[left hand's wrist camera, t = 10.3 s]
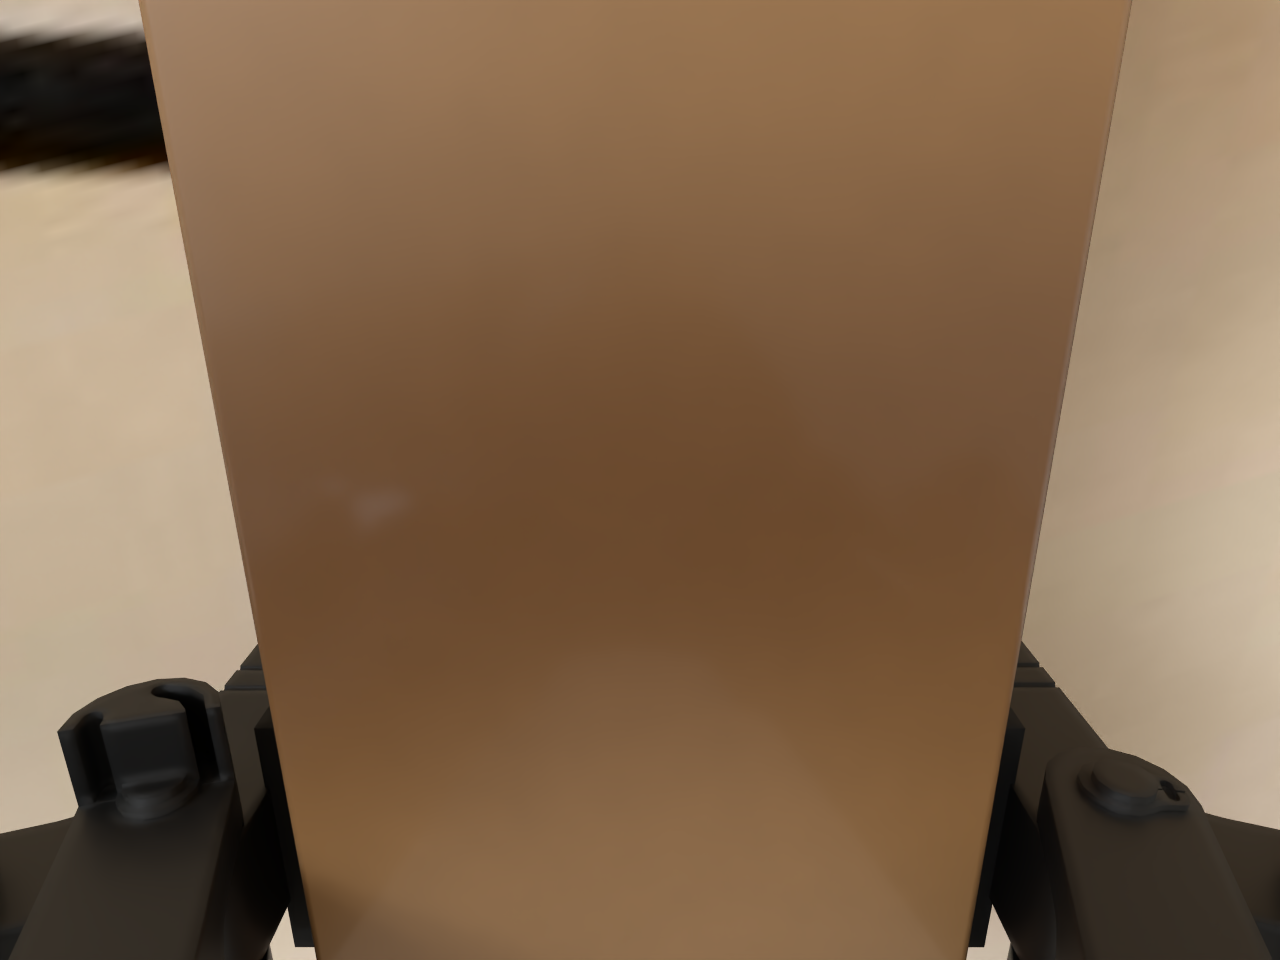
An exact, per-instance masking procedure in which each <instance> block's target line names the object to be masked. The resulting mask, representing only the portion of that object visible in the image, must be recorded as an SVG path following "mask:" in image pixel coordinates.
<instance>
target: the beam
mask: <svg viewBox="0 0 1280 960" xmlns="http://www.w3.org/2000/svg"><path fill="white" fill-rule="evenodd" d="M1131 3H1132V0H139V5H140V11H141V16H142V22H143V27H144V32H145V38H146V43H147V48H148V54H149V59H150V65H151V70H152V75H153V81H154V86H155V92H156V97H157V102H158V108H159V113H160V118H161V124H162V129H163V135H164V140H165V145H166V151H167V156H168V162H169V167H170V172H171V178H172V183H173V188H174V194H175V199H176V205H177V210H178V215H179V221H180V226H181V232H182V237H183V242H184V248H185V253H186V258H187V264H188V269H189V275H190V280H191V285H192V291H193V296H194V301H195V307H196V312H197V318H198V323H199V328H200V334H201V339H202V345H203V350H204V355H205V361H206V366H207V371H208V377H209V382H210V388H211V393H212V398H213V404H214V409H215V415H216V420H217V425H218V431H219V436H220V441H221V447H222V452H223V458H224V463H225V468H226V474H227V479H228V484H229V490H230V495H231V501H232V506H233V511H234V517H235V522H236V528H237V533H238V538H239V544H240V549H241V554H242V560H243V565H244V571H245V576H246V581H247V587H248V592H249V598H250V603H251V608H252V614H253V619H254V624H255V630H256V635H257V641H258V646H259V651H260V657H261V662H262V667H263V673H264V678H265V684H266V689H267V694H268V700H269V705H270V711H271V716H272V721H273V727H274V732H275V737H276V743H277V748H278V754H279V759H280V764H281V770H282V775H283V781H284V786H285V791H286V797H287V802H288V807H289V813H290V818H291V824H292V829H293V834H294V840H295V845H296V851H297V856H298V861H299V867H300V872H301V877H302V883H303V888H304V894H305V899H306V904H307V910H308V915H309V920H310V926H311V931H312V937H313V942H314V947H315V953H316V958H317V960H966V957H967V951H968V946H969V940H970V934H971V928H972V922H973V917H974V911H975V905H976V899H977V894H978V888H979V882H980V876H981V870H982V865H983V859H984V853H985V847H986V842H987V836H988V830H989V824H990V818H991V813H992V807H993V801H994V795H995V790H996V784H997V778H998V772H999V766H1000V761H1001V755H1002V749H1003V743H1004V737H1005V732H1006V726H1007V720H1008V714H1009V709H1010V703H1011V697H1012V691H1013V685H1014V680H1015V674H1016V668H1017V662H1018V657H1019V651H1020V645H1021V639H1022V633H1023V628H1024V622H1025V616H1026V610H1027V605H1028V599H1029V593H1030V587H1031V581H1032V576H1033V570H1034V564H1035V558H1036V553H1037V547H1038V541H1039V535H1040V529H1041V524H1042V518H1043V512H1044V506H1045V501H1046V495H1047V489H1048V483H1049V477H1050V472H1051V466H1052V460H1053V454H1054V448H1055V443H1056V437H1057V431H1058V425H1059V420H1060V414H1061V408H1062V402H1063V396H1064V391H1065V385H1066V379H1067V373H1068V368H1069V362H1070V356H1071V350H1072V344H1073V339H1074V333H1075V327H1076V321H1077V316H1078V310H1079V304H1080V298H1081V292H1082V287H1083V281H1084V275H1085V269H1086V264H1087V258H1088V252H1089V246H1090V240H1091V235H1092V229H1093V223H1094V217H1095V212H1096V206H1097V200H1098V194H1099V188H1100V183H1101V177H1102V171H1103V165H1104V159H1105V154H1106V148H1107V142H1108V136H1109V131H1110V125H1111V119H1112V113H1113V107H1114V102H1115V96H1116V90H1117V84H1118V79H1119V73H1120V67H1121V61H1122V55H1123V50H1124V44H1125V38H1126V32H1127V27H1128V21H1129V15H1130V9H1131Z"/></svg>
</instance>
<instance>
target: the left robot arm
mask: <svg viewBox="0 0 1280 960" xmlns="http://www.w3.org/2000/svg"><path fill="white" fill-rule="evenodd" d="M57 733H58V736H59V740H60V743H61V747H62V750H63V754H64V757H65V761H66V764H67V768H68V771H69V775H70V778H71V782H72V785H73V789H74V792H75V796H76V799H77V803H78V806H79V807H78V809H77V812H76V814H75V816H74V817H72V818H68V819H65V820H61V821H57V822H53V823H48V824H43V825H39V826H34V827H29V828H25V829H20V830H15V831H11V832H6V833H1V834H0V960H273V958H272V953H271V948H270V942H271V940H272V938H273V936H274V934H275V932H276V930H277V928H278V926H279V923H280V921H281V919H282V917H283V915H284V913H285V911H286V909H287V907H288V912H289V917H290V923H291V928H292V933H293V939H294V944H295V947H314V942H313V937H312V931H311V926H310V920H309V915H308V910H307V904H306V899H305V894H304V888H303V883H302V877H301V872H300V867H299V861H298V856H297V851H296V845H295V840H294V834H293V829H292V824H291V818H290V813H289V807H288V802H287V797H286V791H285V786H284V781H283V775H282V770H281V764H280V759H279V754H278V748H277V743H276V737H275V732H274V727H273V721H272V716H271V711H270V705H269V700H268V694H267V689H266V684H265V678H264V673H263V667H262V662H261V657H260V651H259V646H258V644H257V646H256V647H255V648H254V649H253V651H252V652H251V653H250V654H249V656H248V657H247V658H246V659H245V661H244V662H243V663H242V664H241V668H240V670H237V671H236V672H235V673H234V674H233V676H232V677H231V678H230V679H229V681H228V682H227V683H226V684H225V689H224V691H220V692H218V691H216V690H215V689H214V688H213V687H211V686H210V685H209V684H208V683H206V682H202V681H197V680H193V679H188V678H172V679H156V680H152V681H148V682H143V683H139V684H135V685H130V686H126V687H124V688H122V689H119V690H117V691H114V692H112V693H109V694H107V695H105V696H102V697H100V698H97V699H96V700H94V701H93V702H91V703H90V704H88V705H86V706H85V707H83V708H82V709H80V710H79V711H77V712H76V713H74V714H73V715H72V716H71V717H70V718H69V719H68V720H67V721H66V723H65V724H64V725H63V726H62V727H61V728H60V729H59V730H58V732H57ZM992 904H993V906H994V908H995V910H996V912H997V915H998V917H999V919H1000V921H1001V923H1002V925H1003V927H1004V929H1005V931H1006V933H1007V935H1008V937H1009V940H1010V942H1011V943H1010V948H1009V953H1008V958H1007V960H1280V830H1278V829H1273V828H1268V827H1263V826H1259V825H1254V824H1249V823H1245V822H1240V821H1235V820H1230V819H1226V818H1221V817H1218V816H1214V815H1211V814H1207V813H1205V812H1204V810H1203V808H1202V806H1201V804H1200V803H1199V802H1198V800H1197V799H1196V798H1195V796H1194V795H1193V794H1192V792H1191V791H1190V790H1189V788H1188V787H1187V786H1186V785H1184V784H1183V783H1182V782H1180V781H1179V780H1178V779H1176V778H1175V777H1174V776H1172V775H1171V774H1170V773H1168V772H1167V771H1166V770H1164V769H1162V768H1160V767H1158V766H1156V765H1154V764H1152V763H1149V762H1147V761H1145V760H1143V759H1141V758H1139V757H1137V756H1134V755H1130V754H1126V753H1122V752H1119V751H1115V750H1111V749H1108V748H1107V746H1106V745H1105V744H1104V743H1103V741H1102V740H1101V739H1100V738H1099V736H1098V735H1097V734H1096V733H1095V731H1094V730H1093V729H1092V728H1091V726H1090V725H1089V724H1088V723H1087V721H1086V720H1085V719H1084V718H1083V717H1082V715H1081V714H1080V713H1079V712H1078V710H1077V709H1076V708H1075V707H1074V705H1073V704H1072V703H1071V702H1070V700H1069V699H1068V698H1067V697H1066V695H1065V694H1064V693H1063V692H1062V690H1061V689H1060V688H1056V687H1055V682H1054V681H1053V679H1052V678H1051V677H1050V676H1049V674H1048V673H1047V672H1046V671H1045V669H1044V668H1043V667H1039V662H1038V661H1037V660H1036V658H1035V657H1034V656H1033V655H1032V653H1031V652H1030V651H1029V650H1028V648H1027V647H1026V646H1025V645H1024V643H1023V642H1022V641H1021V645H1020V651H1019V657H1018V662H1017V668H1016V674H1015V680H1014V685H1013V691H1012V697H1011V703H1010V709H1009V714H1008V720H1007V726H1006V732H1005V737H1004V743H1003V749H1002V755H1001V761H1000V766H999V772H998V778H997V784H996V790H995V795H994V801H993V807H992V813H991V818H990V824H989V830H988V836H987V842H986V847H985V853H984V859H983V865H982V870H981V876H980V882H979V888H978V894H977V899H976V905H975V911H974V917H973V922H972V928H971V934H970V940H969V946H968V947H984V945H985V940H986V935H987V929H988V924H989V919H990V913H991V908H992Z"/></svg>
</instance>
